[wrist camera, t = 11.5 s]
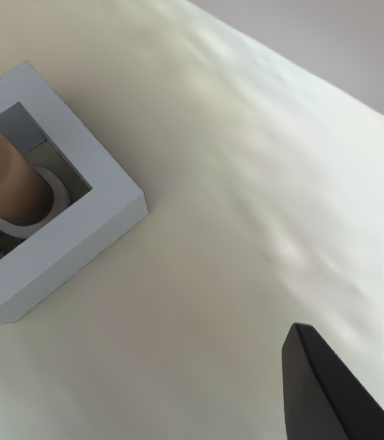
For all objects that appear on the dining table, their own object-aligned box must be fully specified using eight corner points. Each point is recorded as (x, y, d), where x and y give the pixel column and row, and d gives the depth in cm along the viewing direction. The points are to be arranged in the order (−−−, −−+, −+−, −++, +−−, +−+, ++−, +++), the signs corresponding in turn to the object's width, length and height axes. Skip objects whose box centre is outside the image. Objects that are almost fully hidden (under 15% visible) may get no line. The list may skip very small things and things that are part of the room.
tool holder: (14, 322, 21) (-27, 327, 16) (-82, 196, 22) (-144, 169, 18) (148, 214, 23) (143, 192, 18) (52, 104, 24) (27, 60, 20)
